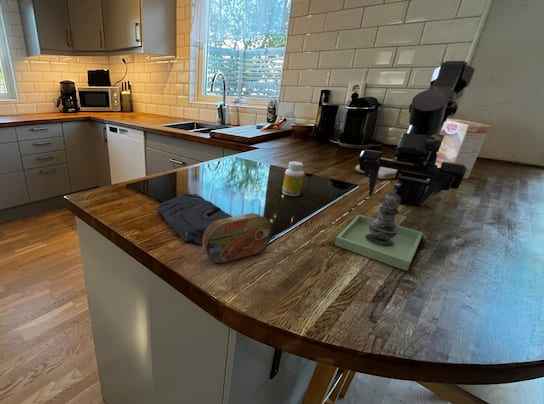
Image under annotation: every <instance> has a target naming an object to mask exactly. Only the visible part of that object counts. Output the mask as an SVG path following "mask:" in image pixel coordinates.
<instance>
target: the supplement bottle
mask: <svg viewBox="0 0 544 404" xmlns="http://www.w3.org/2000/svg"><path fill="white" fill-rule="evenodd" d="M303 167H304V163H303V162H300V161H289V162H288V168H286V170H285V172H284V175H283V177H284V178H283V184H282V189H281V192H282V194H283V195H286V196H288V197H298V196H300V195H301V193H302V192H301V191H302V187H303V180H304V176H305V172H304V170H302V169H303Z"/></svg>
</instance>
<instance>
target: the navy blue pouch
mask: <svg viewBox="0 0 544 404" xmlns="http://www.w3.org/2000/svg"><path fill="white" fill-rule="evenodd" d="M156 208H157V210H158V212H159V213H160V215H161V217H162V218H163V219H164V220H165V222H166V223H167V224H168V225H169V226H170V227H171V228H172V229H173V230H174V232H176V233H177V234H178V236H179V237H181V238H182V239H183V240H184V241H185V242H187V243H195V244H196V245H197V246H198V245H199V246H200V245H202V239H203V234H204V232H205V230H206V229H207V227H208V226H209V225H210V224H212V223H213V222H215V221H217V220H220V219H225V218H230V217H233V215H231V214H229V213H227V212H225V211H224V210H223V209H221V207H219V206H217V205H216V204H214V203H213V202H211V201H210V200H206V199H205V198H204V197H203V196H202V195H199V194H198V193H182V194H180V195H177V196H175V197H173V198H171V199H170V200H167V201H164V202H162V203H161V204H158V206H157V207H156Z"/></svg>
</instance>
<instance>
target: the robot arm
mask: <svg viewBox="0 0 544 404" xmlns="http://www.w3.org/2000/svg"><path fill="white" fill-rule="evenodd" d="M474 74H475V68H474V67H473V66H470V65H469V64H468V61H465V60H446V61H443V62H442V63H441V65H440V66H438V67H436V68H435V69H434V71H433V73H432V76H431V79H430V82H429V84H430V85H429V88H428V89H426V90H424V91H421V92H419V93H418V94H416V95H415V96H413V97H412V100H411V103H410V105H409V108H408V113H409V119H408V122H409V126H408V128H407V130H406V132H402V133H401V136H400V138H399V141H398V144H397V147H396V149H395V152H394V157H395V158H394V159H391V158H385V157H383V151H379V150H372V149H367V148H366V149H364V150H362V151H361V153H360V154H359V157H358V162H359V164H358V165H359V166H360V170H362V171H364V173H363V174H365V175H367V176H368V179H369V180H368V181H369V184H368V196H372V194H373V193H374V190H375V187H376V184H377V181H378V179H379V178H378V171H379V169H380V167H385V168H390V169H396V170H397V173H396V177H395V178H394V180H395V181H397V183H395V184H394V186H393V189H392V192H393V191H394V190H396V191H397V192H396V194H398V195H399V196H400V197H401V201H400V204H403V205H413V206H417V207H418V208H422V207H423V206H424V205H426V204H427V203H428V202H429V201H430V199H432V198H433V197H435V195H438V194H439V193H441V192H442V191H450V189H453V190H457V189H459V188H460V186H461V183H462V182H463V177H464V175H465V172H466V169H467V168H466V166H465V165H464V164H457V163H451V162H444V161H443V162H442V165H441V167H440V168H438V165H435V164H436V160H437V153H436V152H438V151H439V149H440V146H441V144H442V141H443V138H444V135H440V132H441V130H442V127H443V125H444V122H446V120H447V119H452V117H454V115H456V114H457V112H458V110H459V106H458V101H457V100H458V99H460V98H461V97H463V94H464V92H465V90H466V88H469V87H470V85H471V82H472V79H473V77H474Z"/></svg>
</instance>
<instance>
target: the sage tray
mask: <svg viewBox="0 0 544 404" xmlns="http://www.w3.org/2000/svg"><path fill="white" fill-rule="evenodd" d="M376 219H377V218H372V217H369V216H366V215H362V214H358V215H357V216H355V217H354V219H352V220H351V221H350V222H349V223H348V225H347V226H346V227H345V228H344V229H343V230H342V231H341V232H340V233H339V234H338V235H337V236H336V237H335V241H334V246H336V247H338V248H340V249H341V248H342V249H343V250H344V249H345V250H347V251H350V252H352V253H355V254H358V255H361V256H364V257H366V258H369V259H372V260H374V261H377V262H381V263H383V264H386V265H388V266H392V267H395V268H398V269H401V270H403V271H406V272H408V270H409V268H410V266H411V263H412V261H413V258H414V256H415V254H416V251H417V249H418V246H419V244H420V242H421V240H422V237H423V235H424V232H422V231H419V230H416V229H412V228H408V227H404V226H401V225H397V224H395V225H396V226H398V227H399V228H400V231H399V232H398V233H397V234H396V235H395V236H394V237H393V238H390V239H391V240H392V241H393V245H392V246H389V247H385V246H379V245H376V244H373V243H371V242H369V241H368V240H367V239H366V235H368V234H371V232H370V231H369V224H368V222H369V221H371V220H376Z"/></svg>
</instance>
